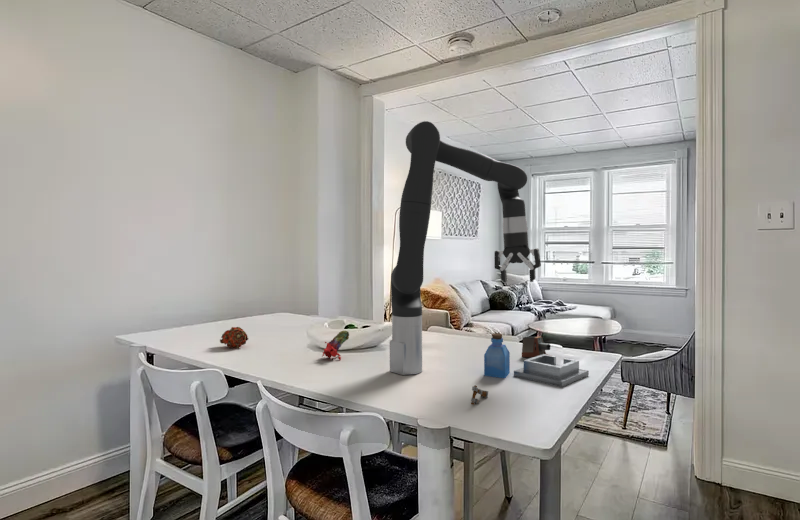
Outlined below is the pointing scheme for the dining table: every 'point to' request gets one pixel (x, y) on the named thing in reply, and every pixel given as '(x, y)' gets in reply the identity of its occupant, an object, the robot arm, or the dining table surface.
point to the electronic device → (534, 347)
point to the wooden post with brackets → (481, 392)
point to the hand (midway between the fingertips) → (518, 281)
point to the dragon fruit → (234, 337)
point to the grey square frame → (551, 370)
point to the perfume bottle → (497, 358)
